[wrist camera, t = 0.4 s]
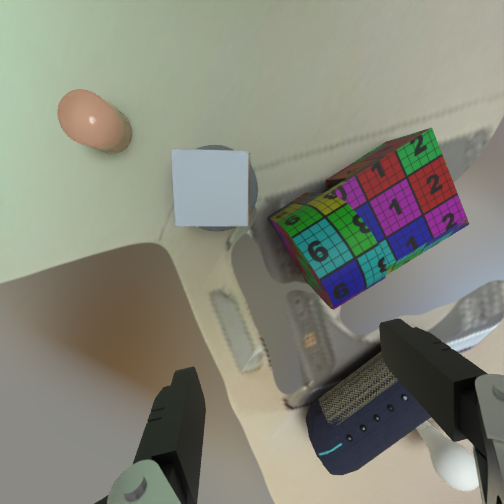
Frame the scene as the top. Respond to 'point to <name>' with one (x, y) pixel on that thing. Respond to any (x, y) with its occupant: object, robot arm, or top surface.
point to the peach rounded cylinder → (94, 121)
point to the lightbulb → (450, 459)
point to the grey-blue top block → (210, 187)
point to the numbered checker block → (372, 217)
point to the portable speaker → (362, 417)
